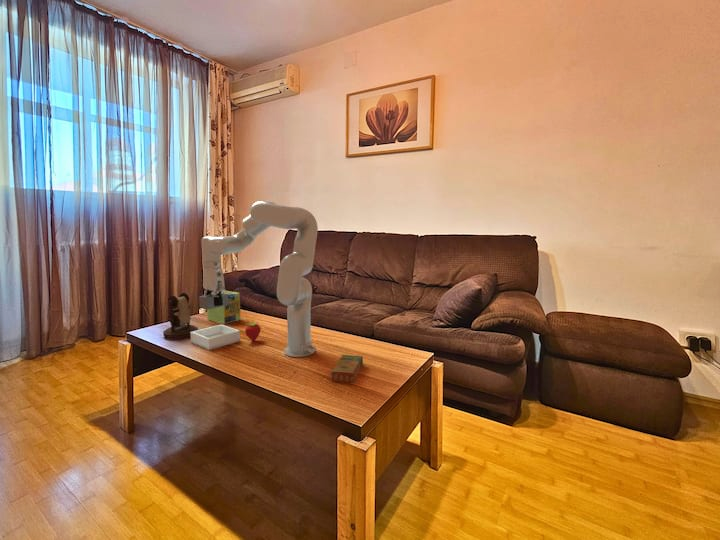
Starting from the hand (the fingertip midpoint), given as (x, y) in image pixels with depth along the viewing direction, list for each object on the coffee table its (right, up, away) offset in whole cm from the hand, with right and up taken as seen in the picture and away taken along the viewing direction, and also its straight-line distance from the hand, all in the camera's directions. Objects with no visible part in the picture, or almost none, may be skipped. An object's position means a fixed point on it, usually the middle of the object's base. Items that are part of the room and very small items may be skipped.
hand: (214, 304), depth 154 cm
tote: (0, -17, +3) cm, 18 cm away
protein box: (-10, -13, +37) cm, 40 cm away
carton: (+61, -23, -28) cm, 71 cm away
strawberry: (+16, -18, +4) cm, 24 cm away
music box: (-21, -16, +11) cm, 29 cm away
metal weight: (0, -1, 0) cm, 1 cm away
